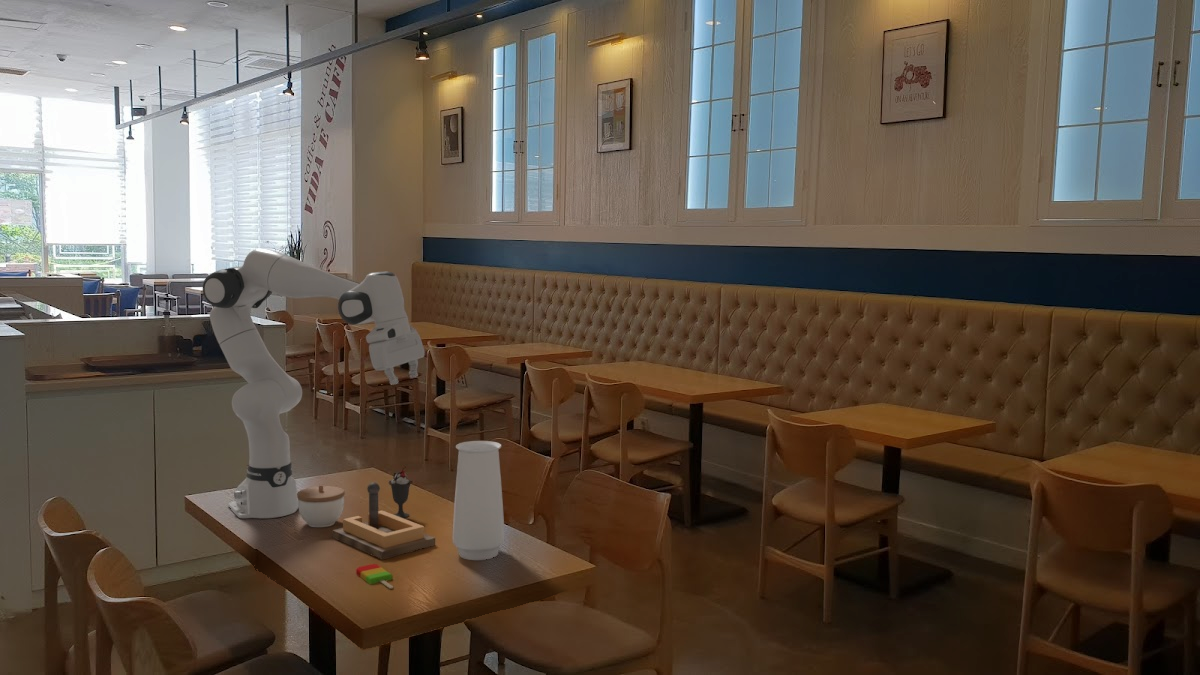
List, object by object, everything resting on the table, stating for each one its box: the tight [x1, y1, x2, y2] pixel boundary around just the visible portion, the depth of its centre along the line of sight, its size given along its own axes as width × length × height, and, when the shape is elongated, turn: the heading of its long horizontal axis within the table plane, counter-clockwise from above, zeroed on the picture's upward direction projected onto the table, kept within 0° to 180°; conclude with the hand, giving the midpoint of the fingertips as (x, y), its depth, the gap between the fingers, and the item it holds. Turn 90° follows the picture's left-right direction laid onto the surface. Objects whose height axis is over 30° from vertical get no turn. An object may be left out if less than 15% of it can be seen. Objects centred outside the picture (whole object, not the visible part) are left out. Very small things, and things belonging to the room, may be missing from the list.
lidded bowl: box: [297, 484, 346, 528], centre depth 257 cm, size 13×13×11 cm
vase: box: [452, 440, 505, 561], centre depth 233 cm, size 13×13×28 cm
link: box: [342, 510, 425, 548], centre depth 242 cm, size 20×12×3 cm, turn 46°
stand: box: [331, 482, 436, 560], centre depth 242 cm, size 24×16×15 cm, turn 46°
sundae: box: [388, 465, 413, 519], centre depth 265 cm, size 7×7×15 cm
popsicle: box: [356, 563, 394, 590], centre depth 215 cm, size 6×15×2 cm, turn 37°
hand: (404, 380), depth 249 cm, fingers open, 8 cm apart
